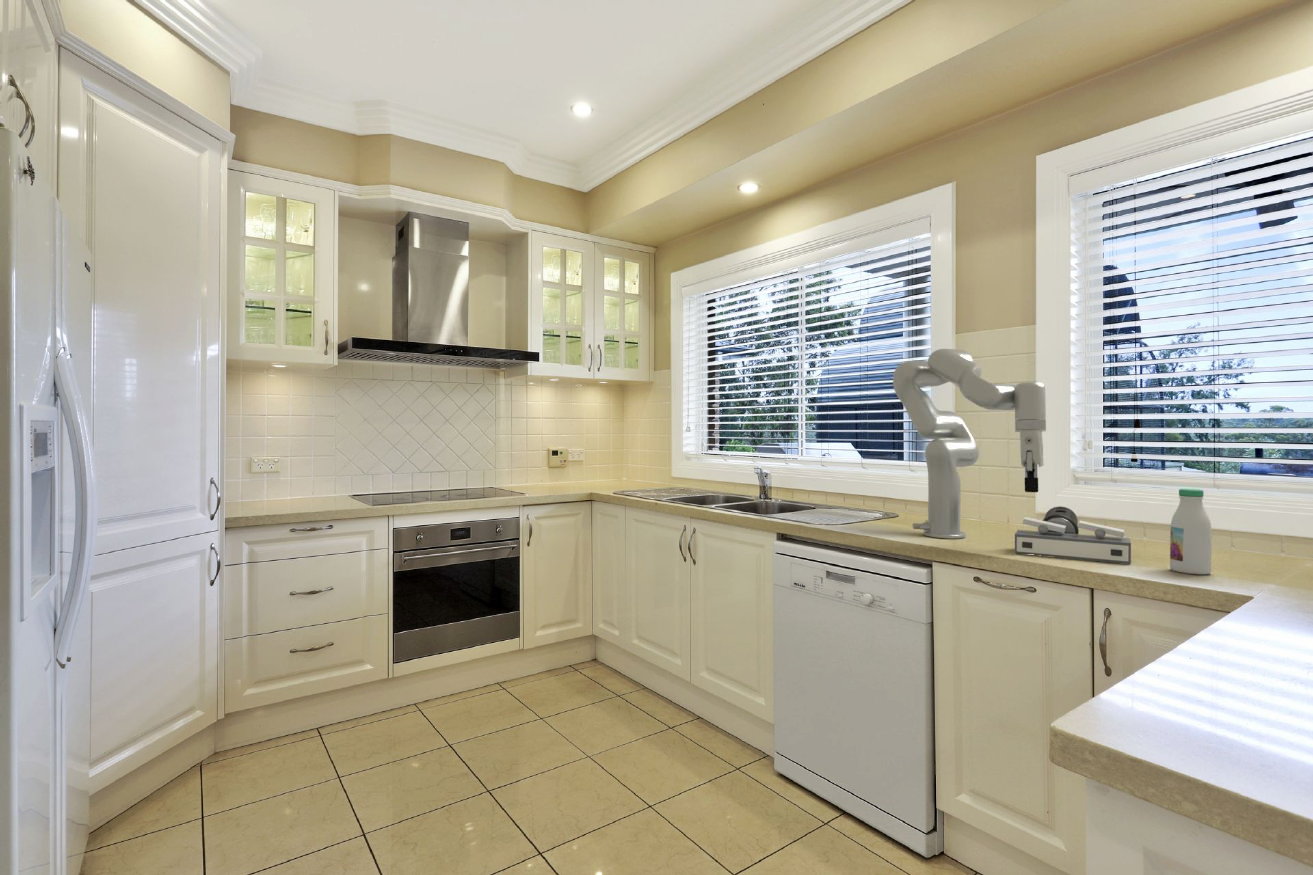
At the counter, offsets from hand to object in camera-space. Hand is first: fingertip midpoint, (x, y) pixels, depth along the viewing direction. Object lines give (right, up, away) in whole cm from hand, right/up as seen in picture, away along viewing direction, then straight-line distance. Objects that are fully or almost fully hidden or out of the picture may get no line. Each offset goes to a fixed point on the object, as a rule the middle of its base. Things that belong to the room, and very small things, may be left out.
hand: (1031, 491), depth 182 cm
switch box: (+7, -17, -6) cm, 19 cm away
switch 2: (+13, -11, -8) cm, 19 cm away
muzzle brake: (+16, -17, +13) cm, 27 cm away
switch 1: (+2, -11, -1) cm, 11 cm away
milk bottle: (+24, -18, -25) cm, 39 cm away
